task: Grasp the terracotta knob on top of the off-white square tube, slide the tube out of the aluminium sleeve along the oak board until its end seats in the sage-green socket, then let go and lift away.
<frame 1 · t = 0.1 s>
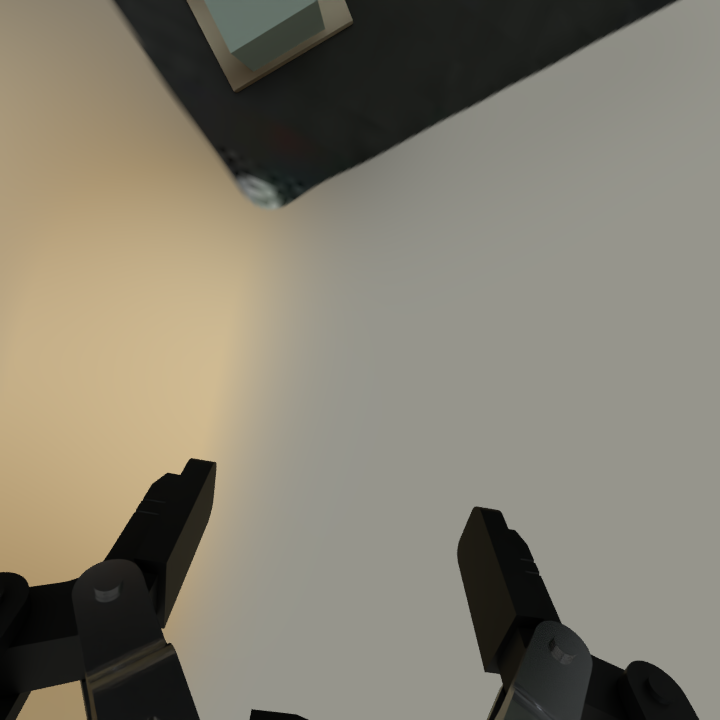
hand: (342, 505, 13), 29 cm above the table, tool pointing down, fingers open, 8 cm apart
sage socket: (267, 8, 28), on the oak base, point 4 cm above the table
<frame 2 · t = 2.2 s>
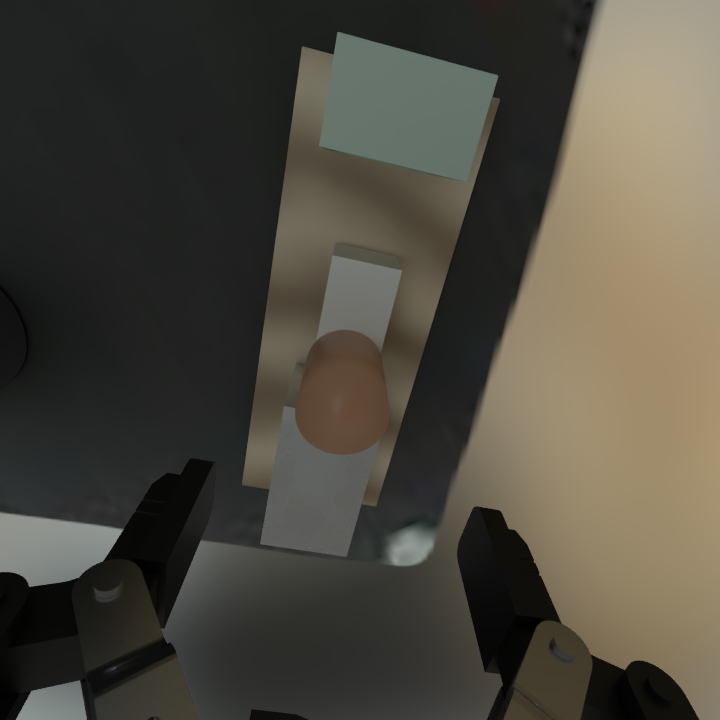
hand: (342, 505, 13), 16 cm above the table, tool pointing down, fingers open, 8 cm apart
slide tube: (333, 421, 24), point 6 cm above the table, slide at 0.0 cm
oak base: (338, 363, 29), on the table
sage socket: (398, 119, 19), on the oak base, point 4 cm above the table
aluminium sleeve: (321, 459, 28), on the oak base, point 4 cm above the table
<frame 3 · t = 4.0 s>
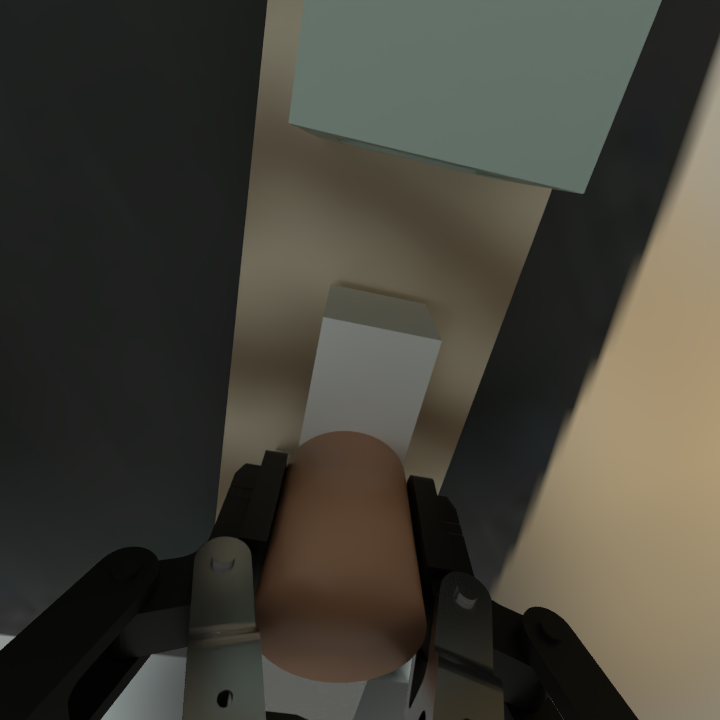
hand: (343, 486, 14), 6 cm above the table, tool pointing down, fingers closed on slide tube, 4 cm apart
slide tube: (326, 565, 15), point 6 cm above the table, slide at 0.0 cm, touching gripper
oak base: (337, 445, 20), on the table
sage socket: (440, 77, 11), on the oak base, point 4 cm above the table
aluminium sleeve: (312, 588, 19), on the oak base, point 4 cm above the table
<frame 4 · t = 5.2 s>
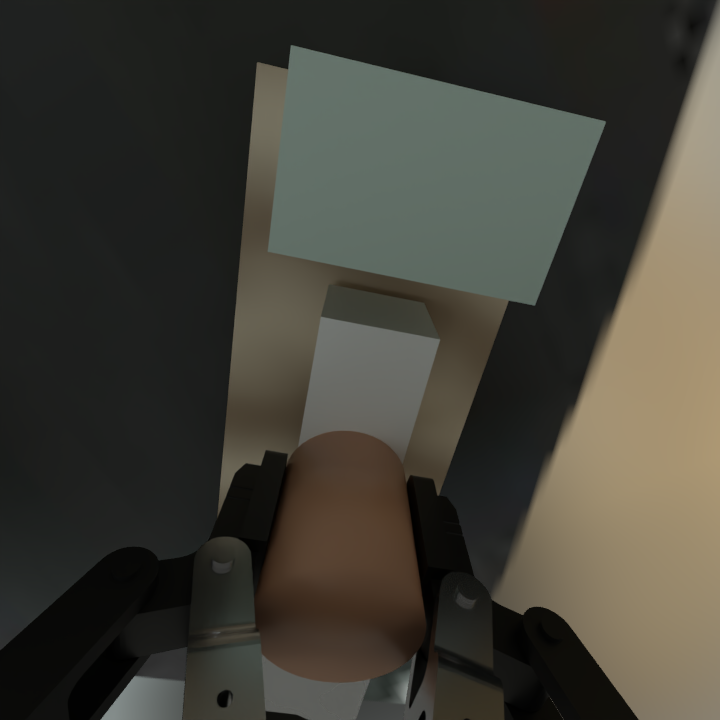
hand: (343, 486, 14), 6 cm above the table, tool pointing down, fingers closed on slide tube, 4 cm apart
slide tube: (327, 565, 15), point 6 cm above the table, slide at 2.5 cm, touching gripper
oak base: (329, 485, 21), on the table
sage socket: (410, 181, 12), on the oak base, point 4 cm above the table
aluminium sleeve: (305, 624, 20), on the oak base, point 4 cm above the table
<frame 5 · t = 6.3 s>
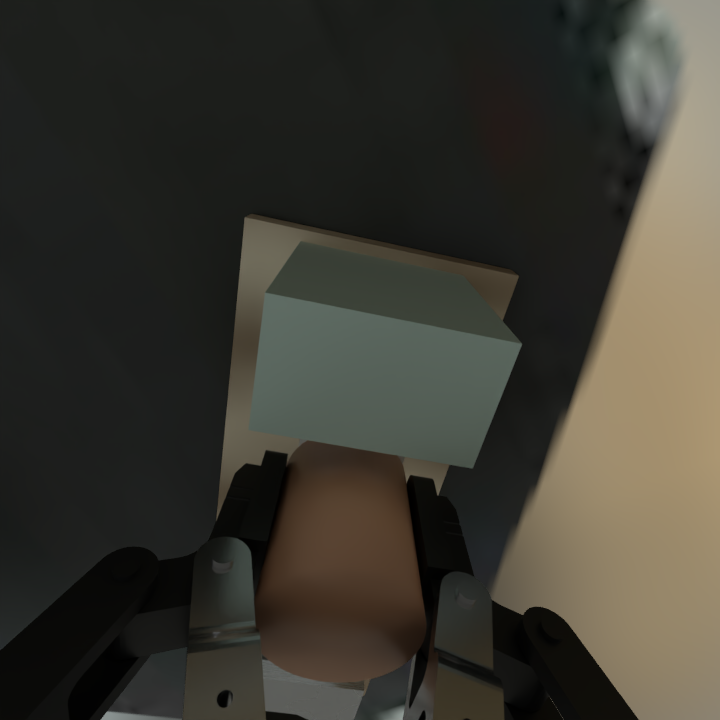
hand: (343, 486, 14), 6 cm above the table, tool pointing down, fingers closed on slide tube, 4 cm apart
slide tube: (327, 564, 15), point 6 cm above the table, slide at 7.1 cm, touching gripper
oak base: (313, 551, 23), on the table
sage socket: (374, 339, 14), on the oak base, point 4 cm above the table
aluminium sleeve: (290, 682, 22), on the oak base, point 4 cm above the table
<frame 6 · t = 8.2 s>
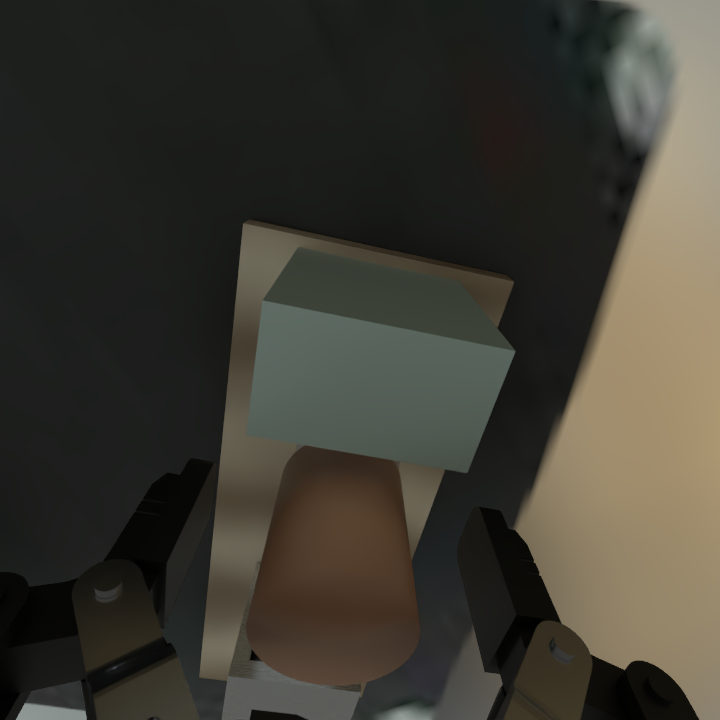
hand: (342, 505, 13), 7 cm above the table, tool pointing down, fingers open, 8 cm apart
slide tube: (323, 568, 15), point 6 cm above the table, slide at 7.0 cm
oak base: (310, 553, 23), on the table
sage socket: (371, 344, 14), on the oak base, point 4 cm above the table
aluminium sleeve: (287, 683, 22), on the oak base, point 4 cm above the table
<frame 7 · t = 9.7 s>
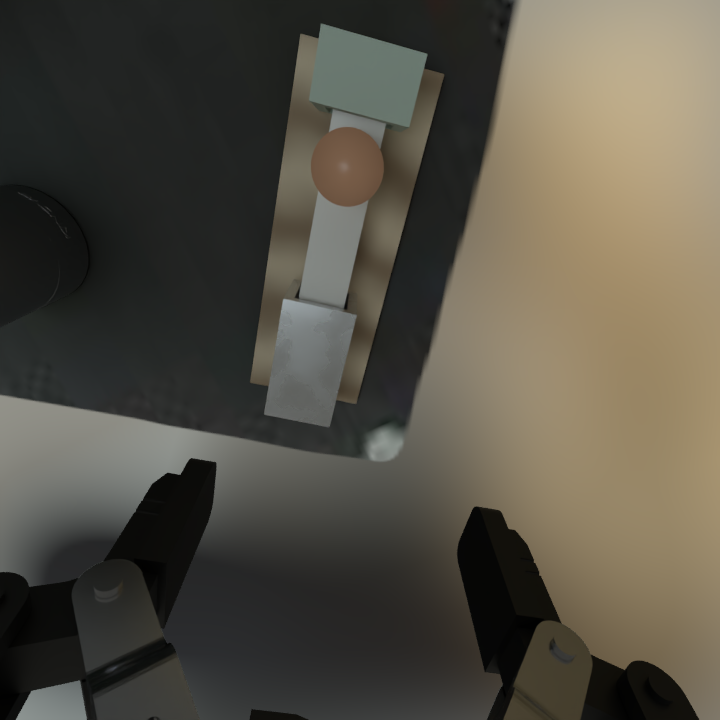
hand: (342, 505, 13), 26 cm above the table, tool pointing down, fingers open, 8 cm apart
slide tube: (339, 214, 29), point 6 cm above the table, slide at 7.0 cm
oak base: (326, 283, 37), on the table
sage socket: (366, 85, 28), on the oak base, point 4 cm above the table
aluminium sleeve: (311, 353, 36), on the oak base, point 4 cm above the table
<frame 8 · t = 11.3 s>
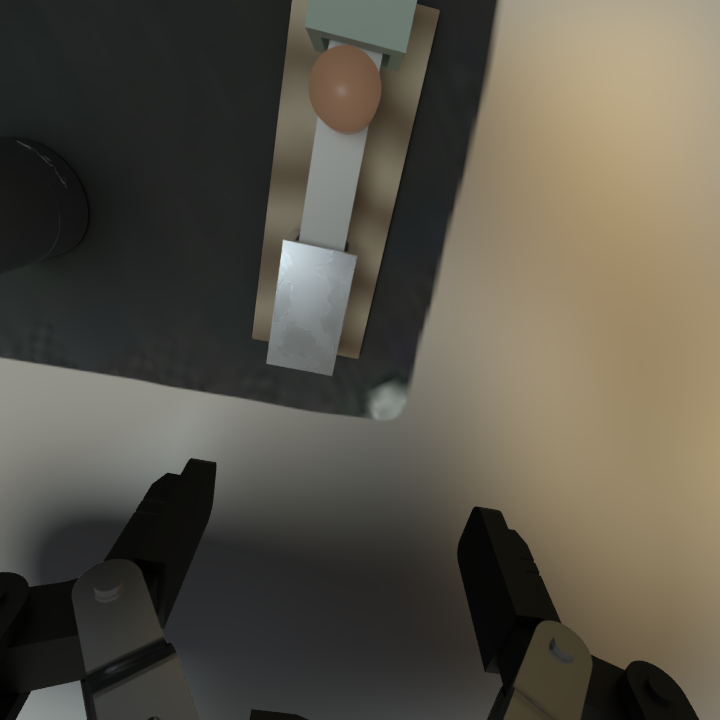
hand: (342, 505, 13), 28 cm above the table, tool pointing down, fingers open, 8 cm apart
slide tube: (337, 149, 29), point 6 cm above the table, slide at 7.0 cm
oak base: (326, 233, 37), on the table
sage socket: (362, 17, 28), on the oak base, point 4 cm above the table
aluminium sleeve: (312, 301, 36), on the oak base, point 4 cm above the table
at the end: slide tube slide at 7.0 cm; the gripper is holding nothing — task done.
